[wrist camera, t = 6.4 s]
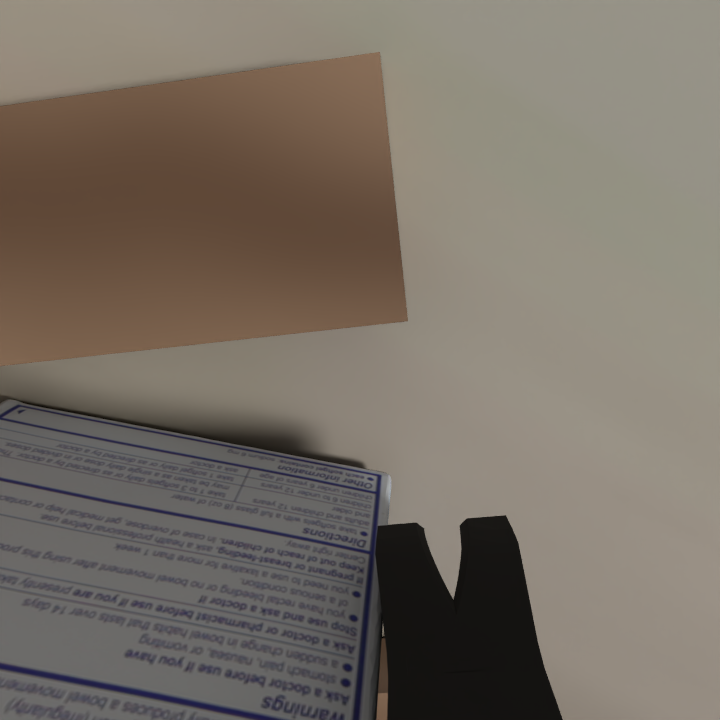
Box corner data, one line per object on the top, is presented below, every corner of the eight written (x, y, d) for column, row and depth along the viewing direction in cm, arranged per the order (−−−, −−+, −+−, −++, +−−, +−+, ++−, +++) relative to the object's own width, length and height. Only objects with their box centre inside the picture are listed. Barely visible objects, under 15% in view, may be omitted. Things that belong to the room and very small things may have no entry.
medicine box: (12, 564, 14) (-498, 1127, 6) (9, 385, 13) (-675, 834, 5) (356, 634, 14) (283, 1297, 6) (396, 463, 13) (366, 1052, 5)
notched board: (453, 758, 16) (460, 820, 15) (-143, 793, 17) (-189, 852, 16) (380, 60, 10) (379, 51, 9) (-494, 184, 12) (-614, 193, 10)
